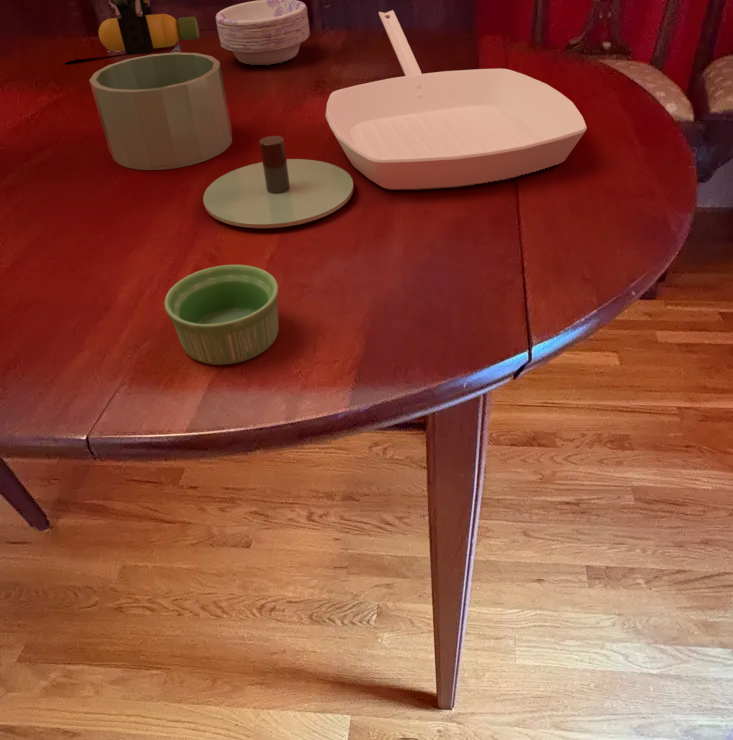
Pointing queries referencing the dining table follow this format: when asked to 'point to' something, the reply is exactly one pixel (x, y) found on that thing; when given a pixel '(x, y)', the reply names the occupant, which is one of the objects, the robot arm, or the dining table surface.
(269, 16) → the paper bowls
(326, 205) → the lid
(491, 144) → the pan
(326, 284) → the dining table surface
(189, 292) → the ramekin
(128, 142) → the pot
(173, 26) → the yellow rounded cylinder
